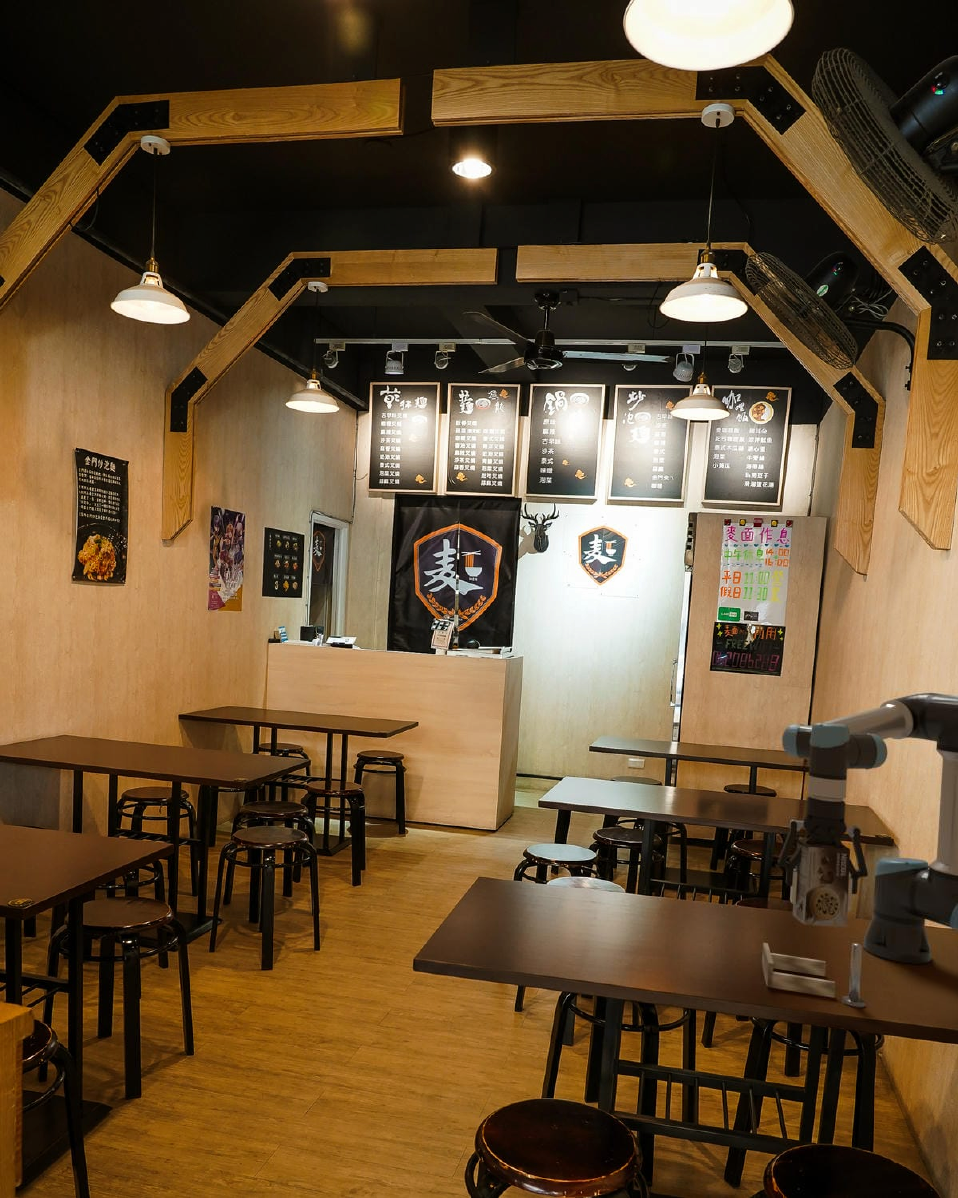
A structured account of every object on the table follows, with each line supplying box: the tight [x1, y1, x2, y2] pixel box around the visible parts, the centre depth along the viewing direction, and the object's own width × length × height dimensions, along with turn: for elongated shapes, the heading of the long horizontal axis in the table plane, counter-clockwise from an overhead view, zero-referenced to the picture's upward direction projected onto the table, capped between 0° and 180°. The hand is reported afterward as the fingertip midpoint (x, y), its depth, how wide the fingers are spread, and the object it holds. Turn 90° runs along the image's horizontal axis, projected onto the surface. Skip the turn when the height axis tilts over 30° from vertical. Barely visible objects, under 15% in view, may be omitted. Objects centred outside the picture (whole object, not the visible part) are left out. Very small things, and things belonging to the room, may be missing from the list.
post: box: [841, 942, 866, 1009], centre depth 185 cm, size 4×4×12 cm
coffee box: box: [792, 838, 851, 928], centre depth 186 cm, size 9×6×16 cm
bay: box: [761, 942, 836, 999], centre depth 195 cm, size 14×14×5 cm
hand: (819, 905), depth 185 cm, fingers closed on coffee box, 10 cm apart
